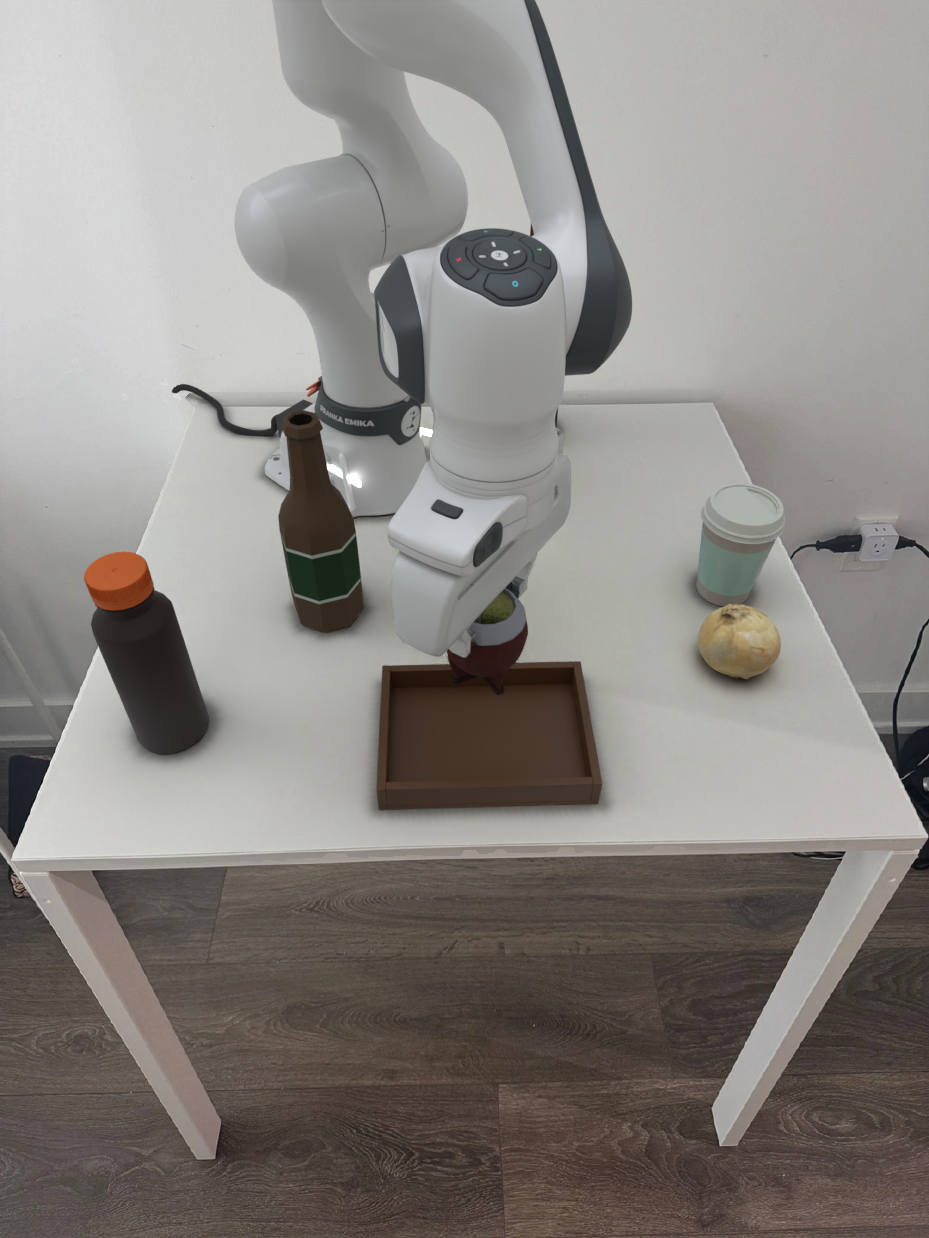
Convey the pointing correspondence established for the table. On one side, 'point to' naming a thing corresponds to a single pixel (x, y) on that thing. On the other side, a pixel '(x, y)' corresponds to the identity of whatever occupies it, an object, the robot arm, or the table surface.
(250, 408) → the table surface
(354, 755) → the table surface
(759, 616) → the onion
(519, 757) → the tray
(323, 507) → the beer bottle
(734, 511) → the coffee cup
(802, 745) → the table surface
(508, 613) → the mate gourd
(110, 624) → the vinegar
